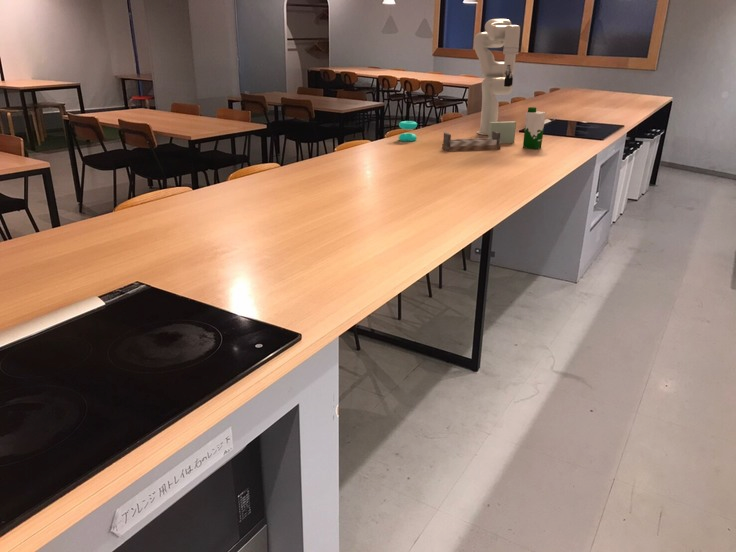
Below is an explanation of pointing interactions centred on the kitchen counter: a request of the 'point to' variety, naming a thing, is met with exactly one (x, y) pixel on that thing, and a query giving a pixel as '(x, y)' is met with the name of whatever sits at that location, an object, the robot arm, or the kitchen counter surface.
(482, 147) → the track base
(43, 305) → the kitchen counter surface
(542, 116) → the milk carton
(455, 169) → the kitchen counter surface
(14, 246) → the kitchen counter surface
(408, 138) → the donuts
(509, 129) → the door panel
